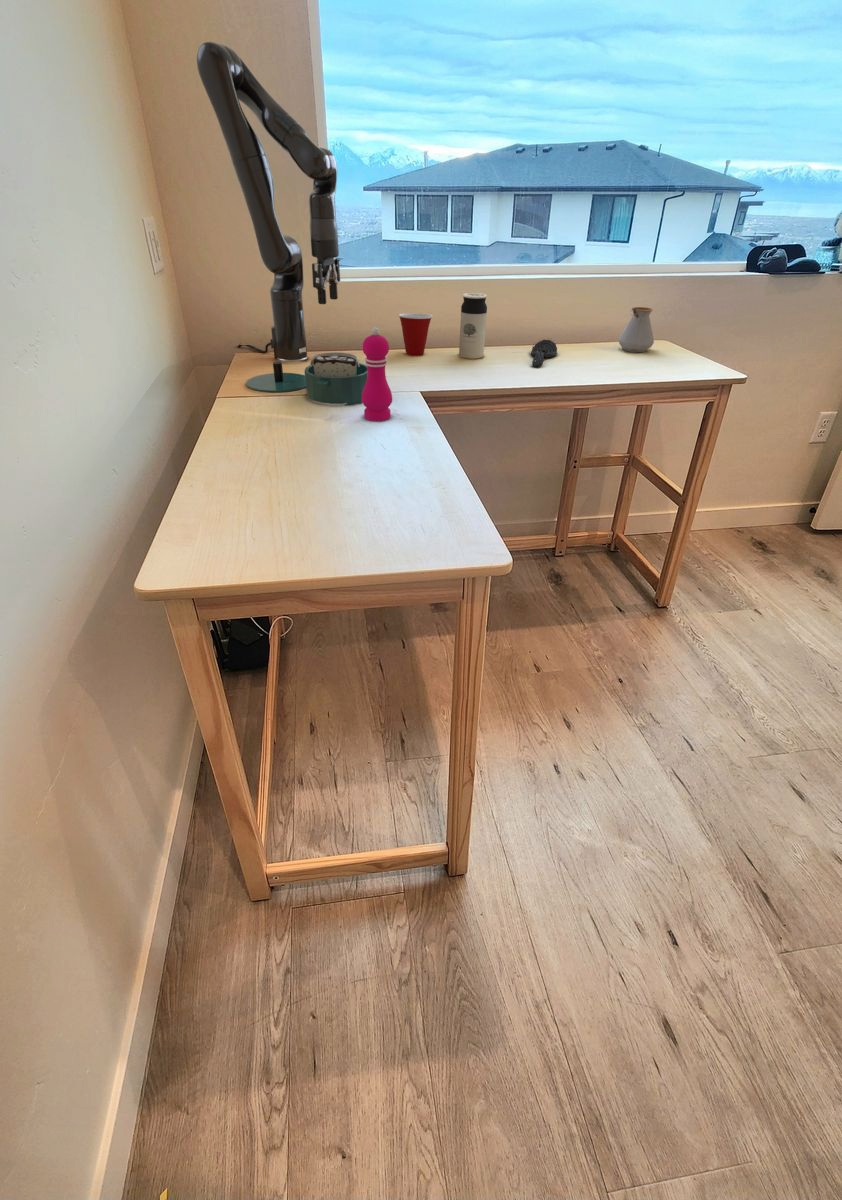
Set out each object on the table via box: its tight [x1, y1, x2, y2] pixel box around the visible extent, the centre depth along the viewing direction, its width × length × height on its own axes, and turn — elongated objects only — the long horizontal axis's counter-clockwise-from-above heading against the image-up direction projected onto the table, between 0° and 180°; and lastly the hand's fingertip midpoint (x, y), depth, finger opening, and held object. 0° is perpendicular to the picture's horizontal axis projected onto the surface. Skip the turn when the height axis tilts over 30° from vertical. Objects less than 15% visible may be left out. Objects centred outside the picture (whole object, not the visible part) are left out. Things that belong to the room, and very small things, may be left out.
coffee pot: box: [618, 306, 655, 353], centre depth 202 cm, size 21×12×15 cm, turn 152°
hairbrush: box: [530, 337, 558, 368], centre depth 197 cm, size 8×4×25 cm
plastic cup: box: [398, 313, 433, 357], centre depth 197 cm, size 11×11×12 cm
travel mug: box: [458, 292, 488, 360], centre depth 194 cm, size 8×8×18 cm
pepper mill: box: [361, 327, 393, 422], centre depth 142 cm, size 7×7×20 cm
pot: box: [304, 362, 368, 407], centre depth 159 cm, size 17×22×7 cm
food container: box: [310, 351, 360, 377], centre depth 158 cm, size 12×6×10 cm, turn 84°
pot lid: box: [245, 361, 306, 393], centre depth 167 cm, size 18×18×6 cm
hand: (328, 301), depth 179 cm, fingers open, 8 cm apart
